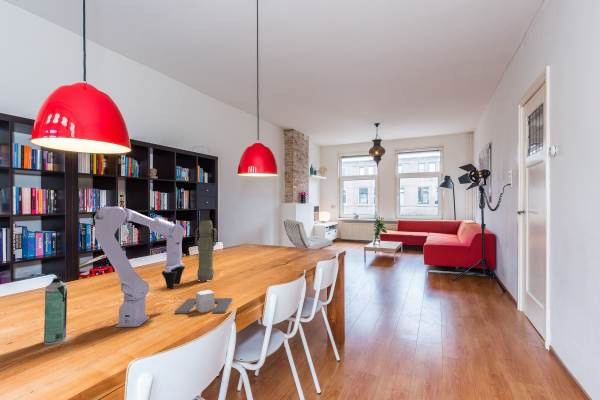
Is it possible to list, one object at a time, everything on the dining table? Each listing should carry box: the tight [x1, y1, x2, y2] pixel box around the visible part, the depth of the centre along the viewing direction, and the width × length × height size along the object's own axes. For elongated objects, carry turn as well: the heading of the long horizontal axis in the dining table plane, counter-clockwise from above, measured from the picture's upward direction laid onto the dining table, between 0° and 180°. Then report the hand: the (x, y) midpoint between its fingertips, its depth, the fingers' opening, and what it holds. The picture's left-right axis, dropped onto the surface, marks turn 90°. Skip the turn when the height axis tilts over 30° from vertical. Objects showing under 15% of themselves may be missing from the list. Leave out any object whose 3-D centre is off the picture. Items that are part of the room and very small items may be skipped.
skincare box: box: [195, 289, 216, 314], centre depth 129 cm, size 6×6×7 cm
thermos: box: [194, 219, 217, 281], centre depth 181 cm, size 9×12×35 cm
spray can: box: [43, 276, 68, 346], centre depth 98 cm, size 6×6×20 cm
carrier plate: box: [174, 297, 233, 315], centre depth 133 cm, size 17×20×4 cm
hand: (173, 286), depth 128 cm, fingers open, 7 cm apart
